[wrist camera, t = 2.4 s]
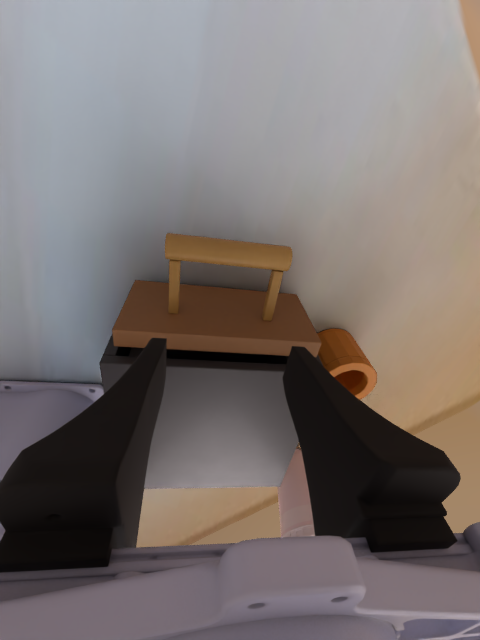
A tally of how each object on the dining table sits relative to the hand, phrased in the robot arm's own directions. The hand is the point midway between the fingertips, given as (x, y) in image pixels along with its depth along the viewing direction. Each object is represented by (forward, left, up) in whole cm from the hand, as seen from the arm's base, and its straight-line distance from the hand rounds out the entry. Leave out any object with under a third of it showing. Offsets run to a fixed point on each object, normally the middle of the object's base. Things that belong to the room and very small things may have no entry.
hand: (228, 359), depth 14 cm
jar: (+11, -7, -10) cm, 17 cm away
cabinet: (0, -10, -10) cm, 14 cm away
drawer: (0, -5, -10) cm, 11 cm away
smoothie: (+12, -25, -11) cm, 29 cm away
